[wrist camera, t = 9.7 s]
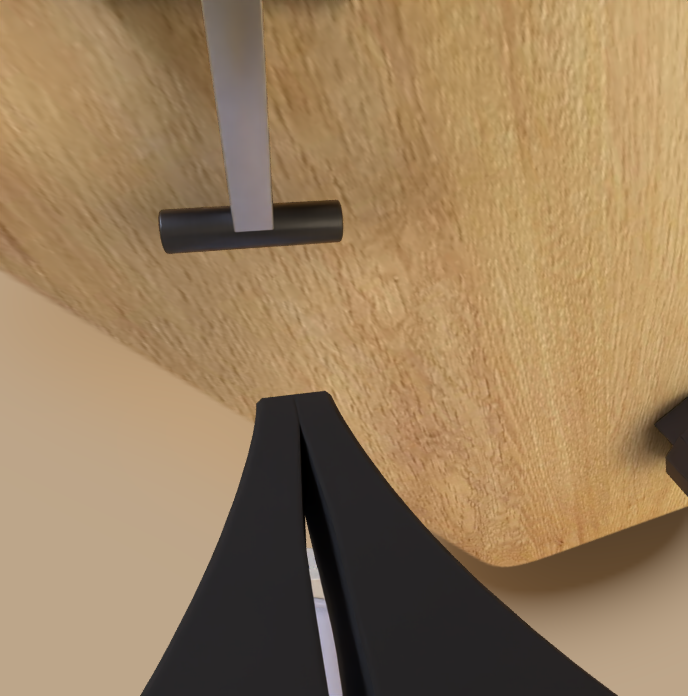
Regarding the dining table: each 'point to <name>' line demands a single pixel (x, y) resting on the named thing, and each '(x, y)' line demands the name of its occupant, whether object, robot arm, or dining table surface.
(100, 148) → the dining table surface
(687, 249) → the dining table surface
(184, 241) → the lever
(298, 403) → the robot arm
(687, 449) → the button block
